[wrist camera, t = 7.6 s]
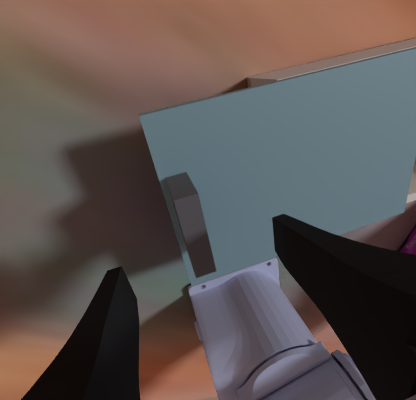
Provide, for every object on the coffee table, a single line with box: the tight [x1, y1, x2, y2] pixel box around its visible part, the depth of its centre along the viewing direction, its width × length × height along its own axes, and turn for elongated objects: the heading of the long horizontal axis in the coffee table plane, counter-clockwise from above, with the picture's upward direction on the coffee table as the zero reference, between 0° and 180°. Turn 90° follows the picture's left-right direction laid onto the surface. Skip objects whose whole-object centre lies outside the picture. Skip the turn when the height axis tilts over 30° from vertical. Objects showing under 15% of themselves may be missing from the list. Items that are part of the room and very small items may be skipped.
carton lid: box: [139, 47, 416, 286], centre depth 16 cm, size 18×12×4 cm, turn 101°
